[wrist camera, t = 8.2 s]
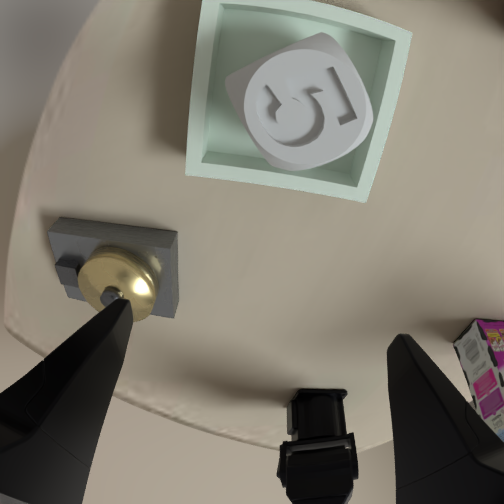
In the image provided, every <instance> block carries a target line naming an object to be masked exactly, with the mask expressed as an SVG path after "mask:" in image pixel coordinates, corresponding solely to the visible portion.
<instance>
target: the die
mask: <svg viewBox="0 0 504 504" xmlns="http://www.w3.org/2000/svg"><path fill="white" fill-rule="evenodd" d="M225 87H226V90H227V93H228V96H229V98H230V100H231V102H232V105H233V107H234V109H235V111H236V113H237V115H238V117H239V118H240V120H241V122H242V124H243V126H244V127H245V129H246V131H247V133H248V134H249V136H250V138H251V139H252V141H253V142H254V144H255V145H256V147H257V148H258V150H259V151H260V153H261V154H262V155H263V157H264V158H265V159H266V161H267V162H268V163H269V164H270V165H272V166H273V167H277V168H280V169H284V170H287V171H300V170H306V169H310V168H314V167H317V166H321V165H323V164H326V163H329V162H331V161H333V160H336V159H338V158H340V157H342V156H344V155H345V154H347V153H349V152H350V151H352V150H353V149H355V148H356V147H357V146H358V145H360V144H361V143H362V142H363V141H364V140H365V138H366V137H367V135H368V133H369V131H370V128H371V126H372V123H373V111H372V107H371V103H370V100H369V97H368V94H367V91H366V89H365V87H364V84H363V82H362V80H361V78H360V76H359V74H358V72H357V70H356V68H355V67H354V65H353V63H352V62H351V60H350V58H349V57H348V55H347V54H346V52H345V51H344V50H343V48H342V47H341V46H340V45H339V44H338V42H337V41H336V40H335V39H334V38H333V37H331V36H330V35H328V34H326V33H323V32H320V33H317V34H315V35H312V36H310V37H307V38H305V39H302V40H300V41H298V42H295V43H293V44H291V45H288V46H286V47H284V48H282V49H280V50H277V51H275V52H273V53H271V54H269V55H267V56H265V57H263V58H261V59H259V60H257V61H255V62H253V63H251V64H249V65H247V66H245V67H243V68H241V69H239V70H237V71H236V72H234V73H232V74H230V75H228V76H227V77H226V80H225Z"/></svg>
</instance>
